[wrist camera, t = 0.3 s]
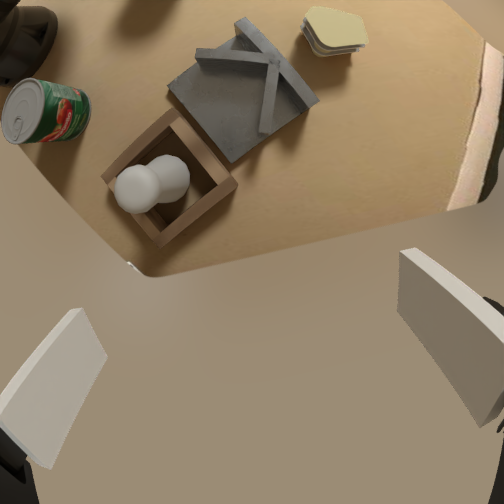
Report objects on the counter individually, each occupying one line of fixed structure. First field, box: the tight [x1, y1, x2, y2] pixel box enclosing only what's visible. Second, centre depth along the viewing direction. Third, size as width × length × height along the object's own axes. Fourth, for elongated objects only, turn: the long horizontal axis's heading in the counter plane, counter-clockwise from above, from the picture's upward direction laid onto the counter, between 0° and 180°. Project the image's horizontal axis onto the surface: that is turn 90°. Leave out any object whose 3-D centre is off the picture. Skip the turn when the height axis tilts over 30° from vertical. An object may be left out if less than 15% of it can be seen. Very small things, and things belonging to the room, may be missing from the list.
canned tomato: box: [1, 78, 91, 144], centre depth 25 cm, size 8×8×11 cm
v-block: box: [167, 17, 320, 164], centre depth 28 cm, size 13×12×5 cm
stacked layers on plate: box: [300, 6, 369, 57], centre depth 26 cm, size 10×9×6 cm
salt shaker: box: [114, 155, 190, 214], centre depth 28 cm, size 6×6×13 cm
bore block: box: [101, 108, 238, 249], centre depth 33 cm, size 12×12×4 cm
